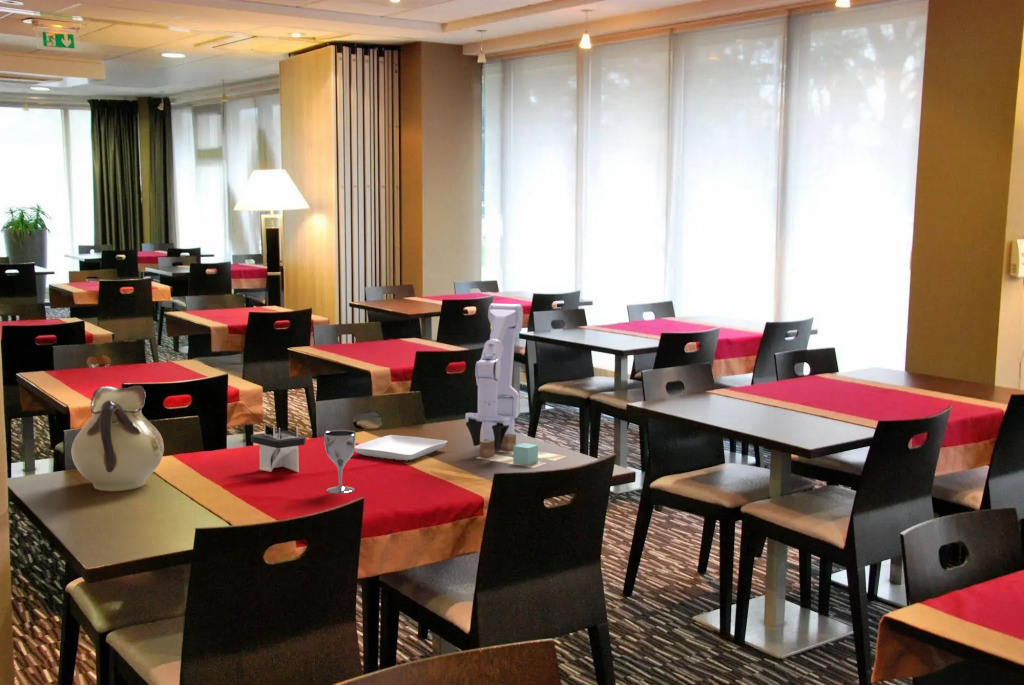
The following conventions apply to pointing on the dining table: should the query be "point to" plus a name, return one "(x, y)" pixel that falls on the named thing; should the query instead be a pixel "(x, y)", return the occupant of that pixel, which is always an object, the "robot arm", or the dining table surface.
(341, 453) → the wine glass
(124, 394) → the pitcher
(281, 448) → the black-topped pedestal
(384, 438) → the salad plate
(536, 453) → the teal block
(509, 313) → the robot arm
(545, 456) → the empty strip
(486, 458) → the strip
